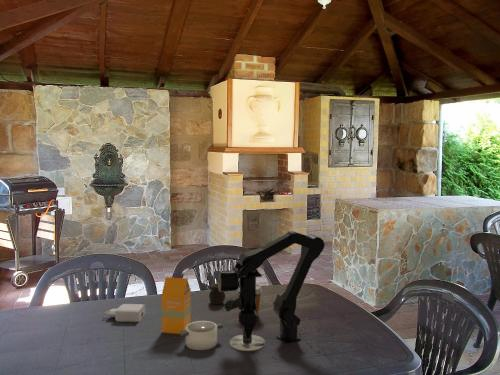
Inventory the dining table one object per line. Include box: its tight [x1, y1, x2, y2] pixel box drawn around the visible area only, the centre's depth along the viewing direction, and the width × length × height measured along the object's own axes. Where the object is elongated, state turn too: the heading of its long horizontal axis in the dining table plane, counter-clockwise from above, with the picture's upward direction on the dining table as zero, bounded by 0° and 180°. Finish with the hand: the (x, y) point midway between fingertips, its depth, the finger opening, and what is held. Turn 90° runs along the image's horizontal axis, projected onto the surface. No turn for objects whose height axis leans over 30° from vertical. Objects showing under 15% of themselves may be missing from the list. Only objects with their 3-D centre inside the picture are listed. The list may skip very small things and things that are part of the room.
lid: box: [229, 326, 266, 352], centre depth 161 cm, size 12×12×6 cm
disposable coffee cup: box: [238, 283, 263, 317], centre depth 188 cm, size 10×10×12 cm
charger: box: [104, 303, 146, 323], centre depth 184 cm, size 5×9×15 cm
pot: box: [178, 320, 224, 351], centre depth 160 cm, size 11×16×6 cm
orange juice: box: [161, 276, 192, 335], centre depth 172 cm, size 8×9×20 cm
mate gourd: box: [208, 283, 226, 305], centre depth 202 cm, size 7×8×10 cm
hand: (247, 332), depth 161 cm, fingers open, 9 cm apart
